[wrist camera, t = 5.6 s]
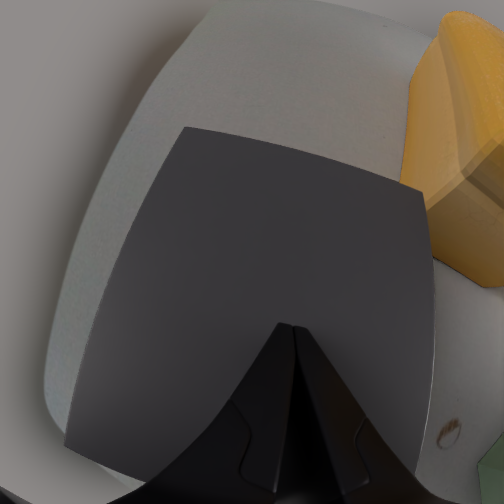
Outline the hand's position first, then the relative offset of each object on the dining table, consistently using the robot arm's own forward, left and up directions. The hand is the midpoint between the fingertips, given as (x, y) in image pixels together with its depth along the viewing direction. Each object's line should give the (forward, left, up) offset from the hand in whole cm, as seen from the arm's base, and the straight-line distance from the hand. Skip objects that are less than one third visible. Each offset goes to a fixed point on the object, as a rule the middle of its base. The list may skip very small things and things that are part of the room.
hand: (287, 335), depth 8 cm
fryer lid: (+1, +1, -1) cm, 2 cm away
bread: (+26, -3, -9) cm, 27 cm away
